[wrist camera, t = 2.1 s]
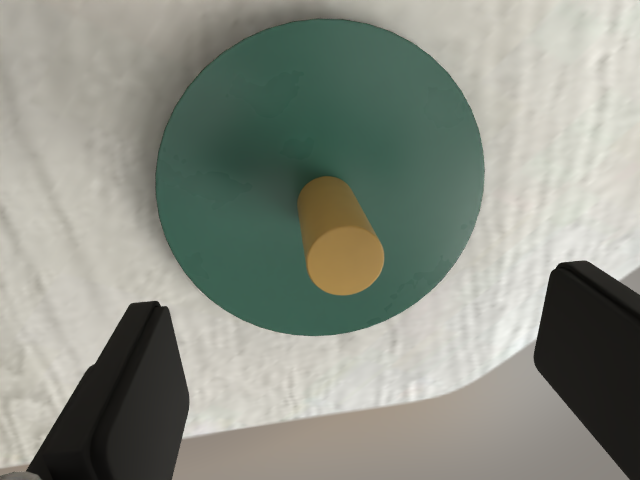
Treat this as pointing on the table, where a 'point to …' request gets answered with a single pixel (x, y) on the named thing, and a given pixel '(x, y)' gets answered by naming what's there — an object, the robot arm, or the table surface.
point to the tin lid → (319, 177)
